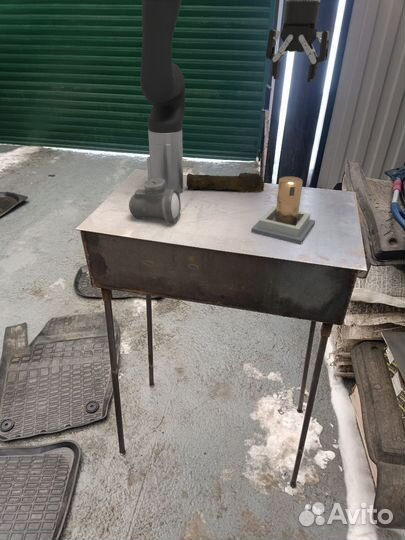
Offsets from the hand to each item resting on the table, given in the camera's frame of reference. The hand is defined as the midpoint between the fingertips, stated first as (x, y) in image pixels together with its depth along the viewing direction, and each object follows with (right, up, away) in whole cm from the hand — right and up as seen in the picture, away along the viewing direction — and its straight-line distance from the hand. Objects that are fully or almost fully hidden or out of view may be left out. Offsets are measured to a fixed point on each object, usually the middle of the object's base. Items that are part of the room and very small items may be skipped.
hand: (292, 80), depth 93 cm
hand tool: (-15, -23, +21) cm, 34 cm away
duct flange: (-2, -36, -1) cm, 36 cm away
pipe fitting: (-34, -34, +3) cm, 48 cm away
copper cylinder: (-2, -36, -2) cm, 36 cm away
